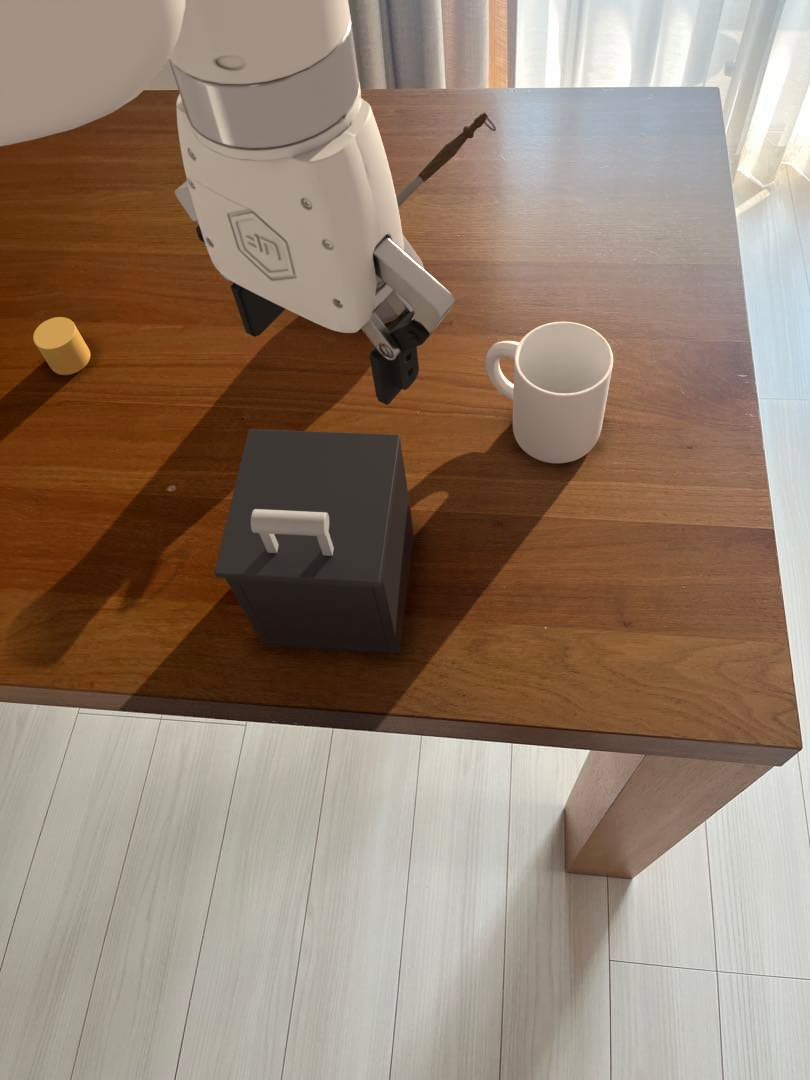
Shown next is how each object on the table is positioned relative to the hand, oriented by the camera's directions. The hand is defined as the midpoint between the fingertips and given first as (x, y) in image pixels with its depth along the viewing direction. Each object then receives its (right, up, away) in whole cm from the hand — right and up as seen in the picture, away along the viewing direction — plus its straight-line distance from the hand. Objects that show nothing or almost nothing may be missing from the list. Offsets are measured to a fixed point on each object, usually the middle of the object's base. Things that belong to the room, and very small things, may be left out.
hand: (330, 352), depth 52 cm
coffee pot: (+5, +17, +44) cm, 47 cm away
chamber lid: (-3, -9, +13) cm, 16 cm away
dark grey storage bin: (-1, -15, +26) cm, 30 cm away
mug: (+17, 0, +33) cm, 37 cm away
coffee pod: (-31, +8, +42) cm, 53 cm away
